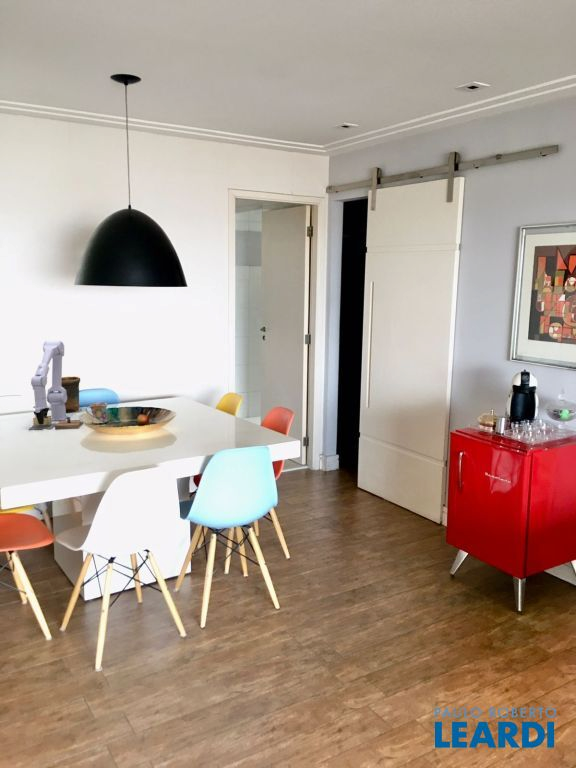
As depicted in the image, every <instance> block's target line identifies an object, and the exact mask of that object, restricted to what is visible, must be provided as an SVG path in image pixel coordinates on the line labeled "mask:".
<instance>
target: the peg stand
mask: <svg viewBox="0 0 576 768" xmlns="http://www.w3.org/2000/svg"><path fill="white" fill-rule="evenodd" d="M80 420H81V419H71V417H70V416H68V417H67V418H66V419H65V420H58V422H57V424H56V425H55V427H54V429H55V431H57V430H75V429H76V430H78V429H79V428H80V427H81V426H82V425H83V424H84V422H83V423H82V422H81V421H80Z"/></svg>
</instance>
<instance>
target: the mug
mask: <svg viewBox="0 0 576 768" xmlns="http://www.w3.org/2000/svg"><path fill="white" fill-rule="evenodd" d="M107 406H108V402H103V401H102V402H93V403H91V404H89V406H86V407H85V412H86V413H87V414H88V416H90V417H91V418H92V417H93V418H96V419H98V420H100V421H104V422H106V421H108V422H109V420H108V418H107V415H106V412H107V411H106V410H107ZM88 408H90V409H91V411H92V413H91V414H90V412H89V411H88ZM93 418H92V419H93ZM106 423H107V422H106Z"/></svg>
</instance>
